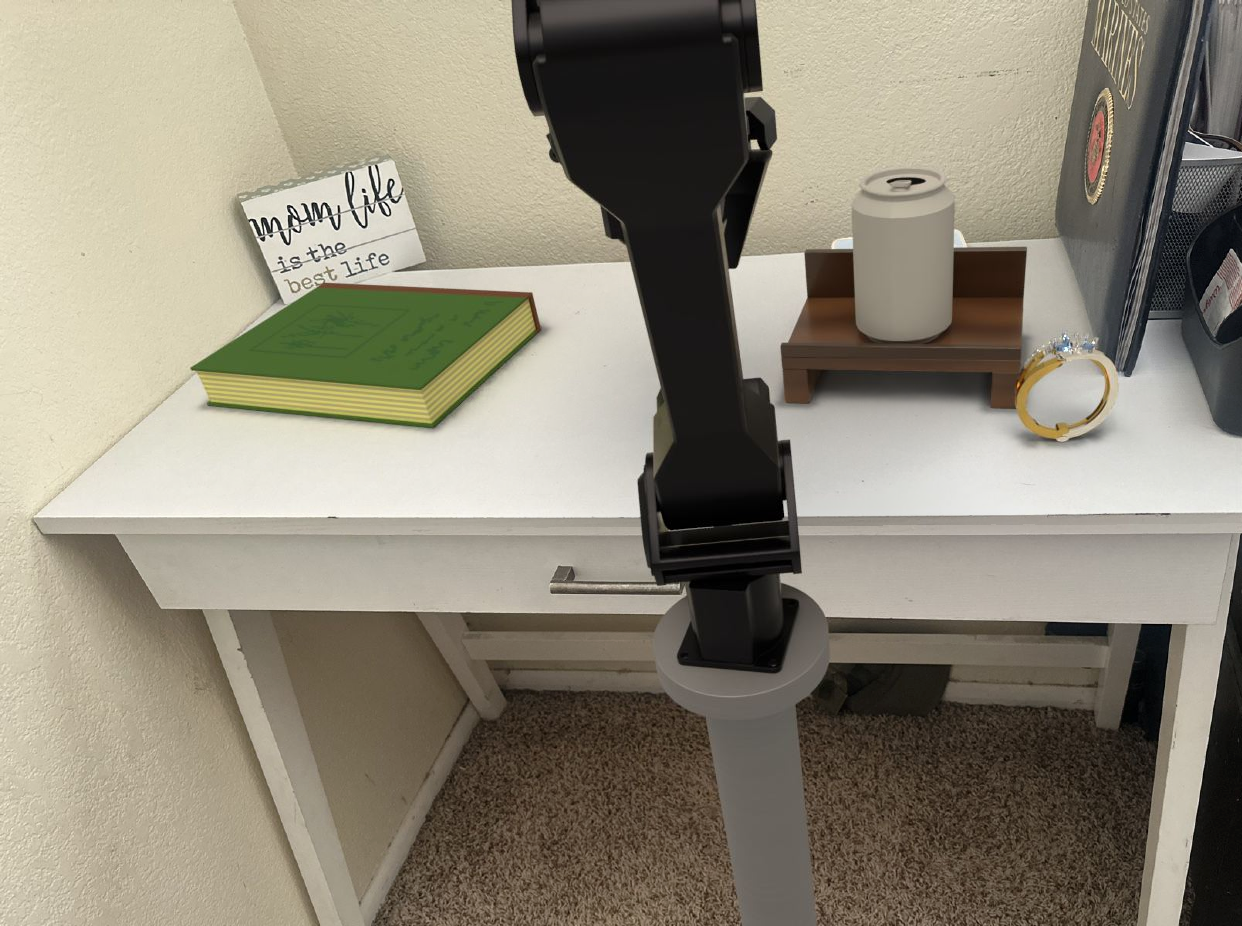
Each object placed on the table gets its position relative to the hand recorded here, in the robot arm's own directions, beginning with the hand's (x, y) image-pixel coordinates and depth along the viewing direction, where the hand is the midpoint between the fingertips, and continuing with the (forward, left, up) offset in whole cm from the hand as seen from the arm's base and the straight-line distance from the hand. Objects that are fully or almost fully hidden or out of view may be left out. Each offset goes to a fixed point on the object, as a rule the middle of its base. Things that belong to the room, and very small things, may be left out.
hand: (713, 295), depth 67 cm
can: (+14, -11, -9) cm, 20 cm away
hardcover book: (+14, +38, -13) cm, 43 cm away
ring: (+5, -23, -13) cm, 27 cm away
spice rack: (+15, -11, -13) cm, 23 cm away
